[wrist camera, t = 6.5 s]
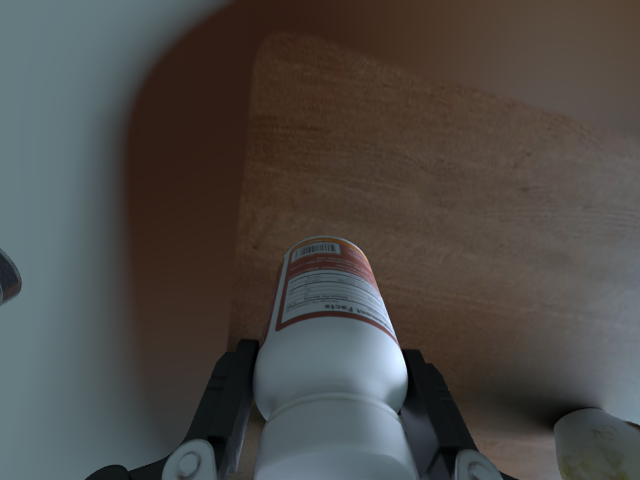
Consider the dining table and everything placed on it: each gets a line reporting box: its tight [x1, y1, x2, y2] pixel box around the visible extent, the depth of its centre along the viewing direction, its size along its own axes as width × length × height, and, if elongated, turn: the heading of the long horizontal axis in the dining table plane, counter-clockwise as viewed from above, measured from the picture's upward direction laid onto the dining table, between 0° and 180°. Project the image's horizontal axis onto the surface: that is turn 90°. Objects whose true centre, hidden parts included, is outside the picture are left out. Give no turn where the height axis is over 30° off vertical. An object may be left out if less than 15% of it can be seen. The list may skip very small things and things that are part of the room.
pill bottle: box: [252, 235, 416, 480], centre depth 12 cm, size 6×6×11 cm
